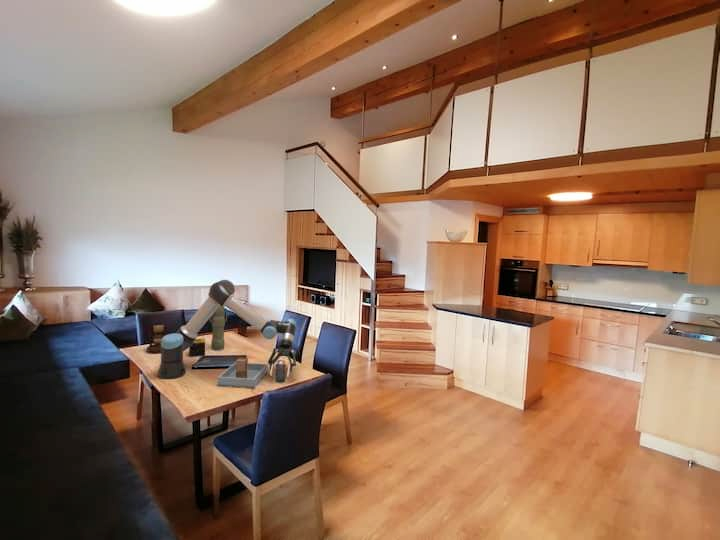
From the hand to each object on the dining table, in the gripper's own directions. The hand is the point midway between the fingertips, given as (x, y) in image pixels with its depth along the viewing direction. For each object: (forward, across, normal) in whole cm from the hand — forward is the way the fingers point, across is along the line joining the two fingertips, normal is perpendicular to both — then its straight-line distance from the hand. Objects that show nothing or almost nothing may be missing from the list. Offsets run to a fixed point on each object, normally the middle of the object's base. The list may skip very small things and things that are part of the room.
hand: (279, 375), depth 215 cm
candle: (-25, +69, -32) cm, 80 cm away
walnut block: (+3, +22, -2) cm, 22 cm away
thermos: (-36, +61, -42) cm, 82 cm away
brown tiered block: (-27, +98, -33) cm, 107 cm away
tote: (+1, +22, -5) cm, 23 cm away
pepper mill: (+1, 0, -5) cm, 5 cm away
